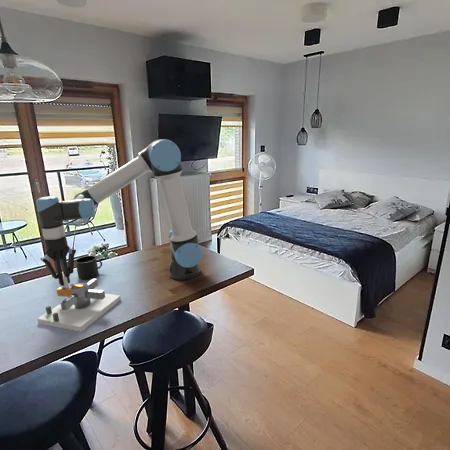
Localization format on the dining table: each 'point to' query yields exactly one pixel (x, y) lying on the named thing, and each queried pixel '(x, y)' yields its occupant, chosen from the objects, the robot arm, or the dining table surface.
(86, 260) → the mug
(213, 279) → the dining table surface
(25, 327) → the dining table surface
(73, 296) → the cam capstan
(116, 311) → the dining table surface
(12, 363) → the dining table surface
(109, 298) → the stand plate
